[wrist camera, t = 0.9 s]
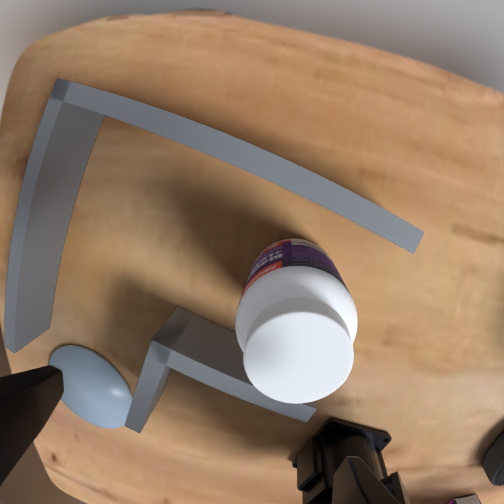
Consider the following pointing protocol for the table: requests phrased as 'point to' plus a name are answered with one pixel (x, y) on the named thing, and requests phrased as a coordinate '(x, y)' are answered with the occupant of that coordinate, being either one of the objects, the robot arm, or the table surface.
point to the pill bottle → (296, 323)
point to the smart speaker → (495, 462)
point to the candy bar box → (466, 500)
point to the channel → (181, 321)
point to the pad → (92, 386)
